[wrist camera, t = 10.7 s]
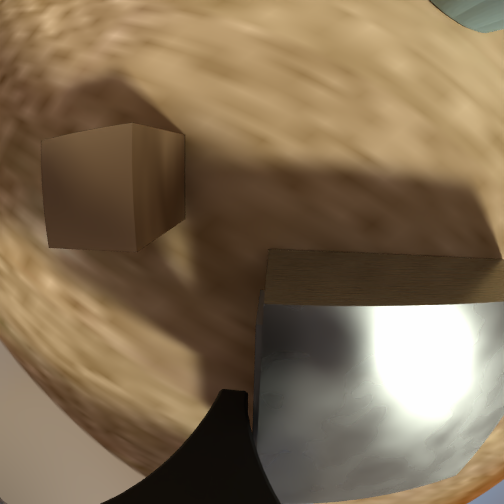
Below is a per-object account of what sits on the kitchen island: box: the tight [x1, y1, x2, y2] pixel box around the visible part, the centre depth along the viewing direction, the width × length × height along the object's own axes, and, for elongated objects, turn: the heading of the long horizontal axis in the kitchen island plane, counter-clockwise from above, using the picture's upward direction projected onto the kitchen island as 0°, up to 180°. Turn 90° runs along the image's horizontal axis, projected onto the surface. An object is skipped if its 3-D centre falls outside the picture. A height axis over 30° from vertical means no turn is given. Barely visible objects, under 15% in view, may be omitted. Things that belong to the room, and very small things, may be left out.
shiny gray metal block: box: [257, 249, 504, 504], centre depth 10 cm, size 11×11×4 cm
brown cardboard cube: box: [41, 123, 185, 252], centre depth 8 cm, size 3×3×4 cm
